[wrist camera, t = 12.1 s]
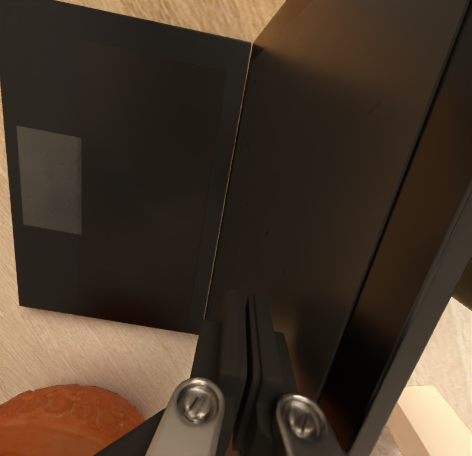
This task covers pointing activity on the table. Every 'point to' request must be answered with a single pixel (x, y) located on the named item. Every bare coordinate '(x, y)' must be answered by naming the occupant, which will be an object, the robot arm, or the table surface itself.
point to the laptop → (116, 159)
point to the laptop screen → (352, 195)
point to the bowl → (64, 421)
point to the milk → (427, 425)
